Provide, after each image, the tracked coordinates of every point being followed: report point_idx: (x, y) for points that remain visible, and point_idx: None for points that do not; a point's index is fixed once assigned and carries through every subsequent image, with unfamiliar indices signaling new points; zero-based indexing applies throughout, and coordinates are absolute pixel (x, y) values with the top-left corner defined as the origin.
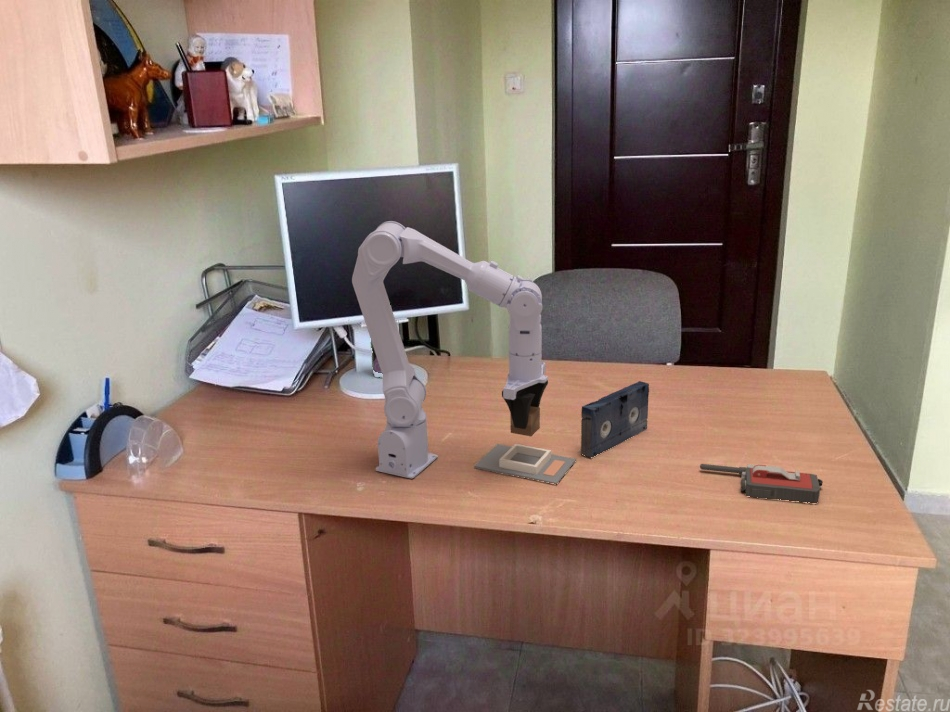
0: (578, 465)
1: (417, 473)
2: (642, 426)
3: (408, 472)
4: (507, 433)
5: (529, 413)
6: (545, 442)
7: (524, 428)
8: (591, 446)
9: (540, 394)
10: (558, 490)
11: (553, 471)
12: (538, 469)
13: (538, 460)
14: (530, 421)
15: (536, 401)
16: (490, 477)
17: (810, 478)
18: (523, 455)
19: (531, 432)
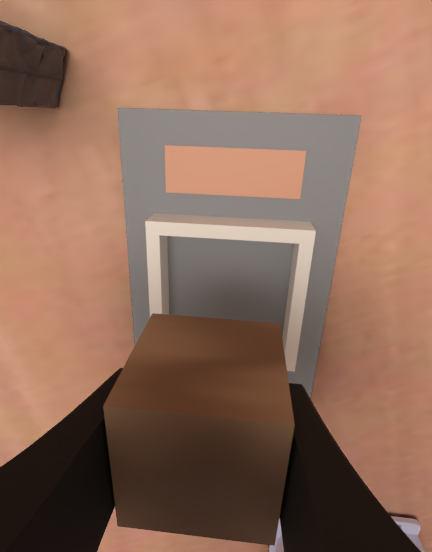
0: (149, 86)
1: (394, 519)
2: None
3: (416, 542)
4: (47, 394)
5: (248, 445)
6: (37, 273)
7: (304, 388)
8: (31, 35)
9: (24, 528)
10: (397, 93)
11: (267, 164)
12: (287, 223)
13: (195, 250)
14: (287, 392)
15: (78, 473)
16: (352, 356)
17: None
18: (180, 309)
19: (278, 336)
